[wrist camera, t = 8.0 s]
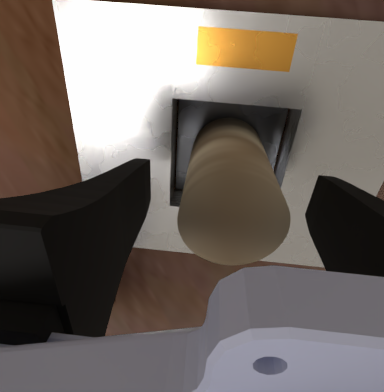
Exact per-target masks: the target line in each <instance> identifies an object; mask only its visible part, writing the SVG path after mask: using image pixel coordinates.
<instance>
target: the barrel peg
mask: <svg viewBox="0 0 384 392" xmlns="http://www.w3.org/2000/svg"><path fill="white" fill-rule="evenodd" d="M290 221H291V219H290V211H289V207H288V205H287V202H286V200H285V198H284V195H283V193H282V191H281V188H280V186H279V183H278V181H277V179H276V176H275V174H274V171H273V169H272V167H271V164H270V162H269V159H268V157H267V155H266V152H265V150H264V147H263V145H262V143H261V140H260V138H259V135H258V134H257V132H256V131H255V130H254V128H253V127H252V126H250V125H249V124H248V123H246V122H244V121H242V120H239V119H235V118H221V119H217V120H214V121H212V122H210V123H208V124H207V125H206V126H204V127H203V128H202V129H201V130H200V132H199V133H198V134H197V136H196V138H195V140H194V143H193V148H192V152H191V157H190V161H189V166H188V170H187V175H186V179H185V184H184V188H183V193H182V197H181V202H180V206H179V211H178V217H177V225H178V230H179V234H180V236H181V238H182V240H183V242H184V243H185V244H186V246H187V247H188V248H189V249H190V250H191V251H192V252H194V253H195V254H196V255H198V256H199V257H201V258H203V259H205V260H207V261H210V262H213V263H217V264H222V265H244V264H249V263H253V262H256V261H258V260H261V259H263V258H265V257H267V256H268V255H270V254H271V253H273V252H274V251H275V250H276V249H277V248H278V247H279V246H280V245H281V244H282V243H283V241H284V240H285V238H286V236H287V234H288V231H289V228H290Z"/></svg>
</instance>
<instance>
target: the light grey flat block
mask: <svg viewBox="0 0 384 392" xmlns="http://www.w3.org/2000/svg"><path fill="white" fill-rule="evenodd" d="M52 2H53V8H54V14H55V20H56V26H57V32H58V38H59V44H60V50H61V56H62V62H63V68H64V74H65V80H66V86H67V92H68V98H69V104H70V110H71V116H72V122H73V128H74V134H75V140H76V146H77V152H78V158H79V164H80V170H81V176H82V181H85V180H88V179H91V178H93V177H95V176H98V175H100V174H102V173H105V172H107V171H109V170H111V169H113V168H115V167H117V166H119V165H121V164H123V163H125V162H128V161H130V160H132V159H135V158H141V159H150V174H151V201H150V205H149V209H148V212H147V216H146V219H145V221H144V223H143V225H142V228H141V230H140V232H139V234H138V236H137V239H136V241H135V243H134V245H133V247H136V248H145V249H155V250H164V251H174V252H183V253H193V254H195V253H194V252H192V251H191V250H190V249H189V248H188V247H187V246H186V244H185V243H184V242H183V240H182V238H181V236H180V234H179V230H178V225H177V217H178V211H179V206H180V202H181V197H182V193H183V190H178V189H183V188H184V184H185V179H186V175H187V170H188V166H189V161H190V157H191V152H192V148H193V143H194V140H195V138H196V136H197V134H198V133H199V132H200V130H201V129H202V128H203V127H204V126H206V125H207V124H208V123H210V122H212V121H214V120H217V119H221V118H235V119H239V120H242V121H244V122H246V123H248V124H249V125H250V126H252V127H253V128H254V130H255V131H256V132H257V134H258V135H259V138H260V140H261V143H262V145H263V147H264V150H265V152H266V155H267V157H268V159H269V162H270V164H271V167H272V169H274V165H275V161H276V157H277V153H278V149H279V145H280V141H281V137H282V133H283V129H284V125H285V121H286V117H287V113H288V109H289V108H290V110H289V114H288V118H287V122H286V126H285V130H284V134H283V138H282V142H281V146H280V150H279V154H278V158H277V162H276V166H275V170H274V174H275V176H276V179H277V181H278V183H279V186H280V188H281V191H282V193H283V195H284V198H285V200H286V202H287V205H288V207H289V211H290V219H291V221H290V228H289V231H288V234H287V236H286V238H285V240H284V241H283V243H282V244H281V245H280V246H279V247H278V248H277V249H276V250H275V251H274V252H273V253H271V254H270V255H268V256H267V257H265V258H263V259H261V260H259V261H269V262H278V263H288V264H297V265H307V266H316V267H324V265H323V263H322V260H321V258H320V256H319V254H318V252H317V249H316V247H315V245H314V243H313V240H312V238H311V236H310V233H309V230H308V226H307V222H306V218H305V213H306V210H307V207H308V204H309V201H310V198H311V195H312V193H313V190H314V187H315V184H316V181H317V178H318V175H323V176H333V177H337V178H339V179H342V180H344V181H346V182H348V183H350V184H352V185H354V186H356V187H358V188H360V189H362V190H364V191H366V192H368V193H370V194H372V195H374V196H375V197H376V195H377V193H378V191H379V189H380V187H381V185H382V183H383V181H384V22H380V21H366V20H352V19H339V18H325V17H311V16H298V15H284V14H270V13H256V12H243V11H229V10H215V9H202V8H188V7H174V6H160V5H147V4H133V3H119V2H106V1H92V0H52ZM177 99H179V113H178V139H177V165H176V189H174V181H175V153H176V125H177Z"/></svg>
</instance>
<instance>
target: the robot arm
mask: <svg viewBox="0 0 384 392" xmlns="http://www.w3.org/2000/svg"><path fill="white" fill-rule="evenodd" d="M150 201H151V174H150V159H141V158H135V159H132V160H130V161H128V162H125V163H123V164H121V165H119V166H117V167H115V168H113V169H111V170H109V171H107V172H105V173H102V174H100V175H98V176H95V177H93V178H91V179H88V180H85V181H82V182H80V183H76V184H73V185H70V186H67V187H63V188H59V189H54V190H50V191H46V192H41V193H36V194H30V195H24V196H17V197H10V198H1V199H0V392H384V201H383V200H381V199H379V198H377V197H375V196H374V195H372V194H370V193H368V192H366V191H364V190H362V189H360V188H358V187H356V186H354V185H352V184H350V183H348V182H346V181H344V180H342V179H339V178H337V177H333V176H323V175H318V178H317V181H316V184H315V187H314V190H313V193H312V195H311V198H310V201H309V204H308V207H307V210H306V213H305V218H306V222H307V226H308V230H309V233H310V236H311V238H312V240H313V243H314V245H315V247H316V249H317V252H318V254H319V256H320V258H321V260H322V263H323V265H324V267H325V269H326V271H321V270H312V269H303V268H293V267H284V266H274V265H271V266H259V267H247V268H242V269H240V270H239V271H237V272H235V273H233V274H231V275H229V276H227V277H225V278H223V279H221V280H219V282H218V283H217V285H216V287H215V289H214V290H213V292H212V294H211V295H210V297H209V301H208V308H207V314H206V319H205V321H204V324H203V325H202V326H201V327H192V328H182V329H172V330H162V331H153V332H143V333H133V334H123V335H113V336H105V332H106V329H107V325H108V322H109V318H110V314H111V311H112V307H113V303H114V300H115V297H116V293H117V290H118V287H119V283H120V280H121V277H122V274H123V271H124V267H125V264H126V262H127V259H128V257H129V254H130V252H131V250H132V248H133V245H134V243H135V241H136V239H137V236H138V234H139V232H140V230H141V228H142V225H143V223H144V221H145V219H146V216H147V212H148V209H149V205H150Z"/></svg>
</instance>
